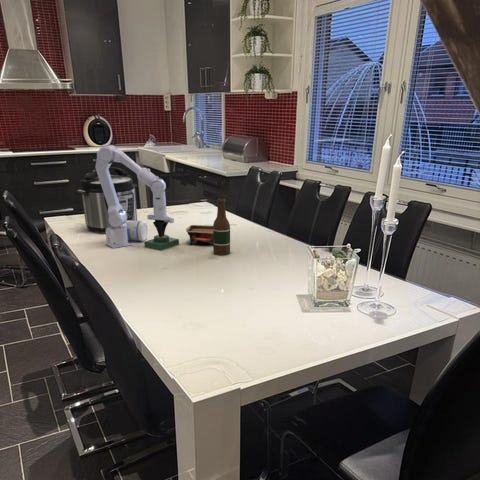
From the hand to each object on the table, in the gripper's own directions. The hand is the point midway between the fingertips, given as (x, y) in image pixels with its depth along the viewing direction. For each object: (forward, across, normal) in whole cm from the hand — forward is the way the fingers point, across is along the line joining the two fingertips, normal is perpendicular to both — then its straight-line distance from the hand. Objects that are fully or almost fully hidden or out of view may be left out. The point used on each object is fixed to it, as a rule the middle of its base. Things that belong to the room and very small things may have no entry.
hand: (161, 236), depth 218 cm
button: (+2, 0, 0) cm, 2 cm away
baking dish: (+5, -13, -16) cm, 22 cm away
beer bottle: (+5, -30, -6) cm, 31 cm away
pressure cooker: (+5, +44, -12) cm, 46 cm away
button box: (+4, 0, 0) cm, 4 cm away
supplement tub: (0, +12, -2) cm, 13 cm away
